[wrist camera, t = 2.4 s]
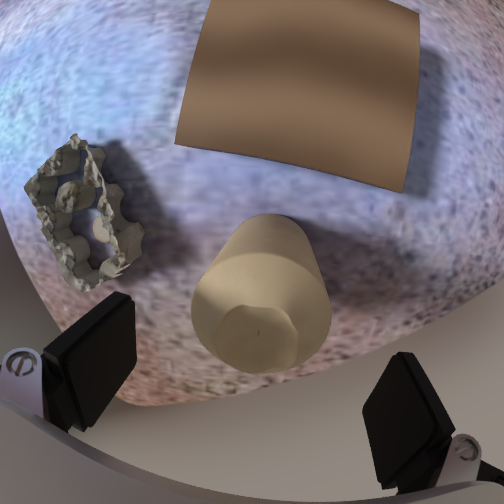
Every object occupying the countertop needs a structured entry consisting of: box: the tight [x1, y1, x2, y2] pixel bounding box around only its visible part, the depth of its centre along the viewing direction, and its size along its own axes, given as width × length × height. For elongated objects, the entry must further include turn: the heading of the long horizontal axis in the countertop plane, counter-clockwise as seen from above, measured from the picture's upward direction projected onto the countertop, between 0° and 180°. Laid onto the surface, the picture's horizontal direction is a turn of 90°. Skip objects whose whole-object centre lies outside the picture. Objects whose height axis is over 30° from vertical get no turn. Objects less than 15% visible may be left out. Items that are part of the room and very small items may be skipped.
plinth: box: [174, 0, 420, 193], centre depth 13 cm, size 12×12×4 cm
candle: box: [191, 214, 332, 374], centre depth 14 cm, size 6×6×10 cm
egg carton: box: [24, 134, 145, 293], centre depth 17 cm, size 11×8×4 cm
